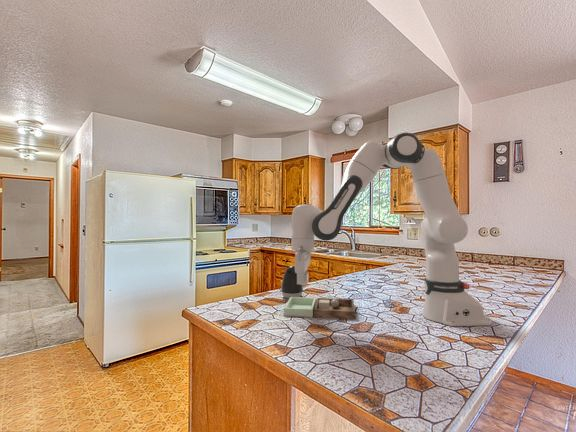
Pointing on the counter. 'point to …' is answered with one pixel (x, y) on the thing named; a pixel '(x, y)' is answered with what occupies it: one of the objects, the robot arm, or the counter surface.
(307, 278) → the small beige block
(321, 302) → the beige cube
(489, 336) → the counter surface
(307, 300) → the green tray
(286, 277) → the black rounded cone
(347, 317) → the walnut crate
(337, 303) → the round pebble
